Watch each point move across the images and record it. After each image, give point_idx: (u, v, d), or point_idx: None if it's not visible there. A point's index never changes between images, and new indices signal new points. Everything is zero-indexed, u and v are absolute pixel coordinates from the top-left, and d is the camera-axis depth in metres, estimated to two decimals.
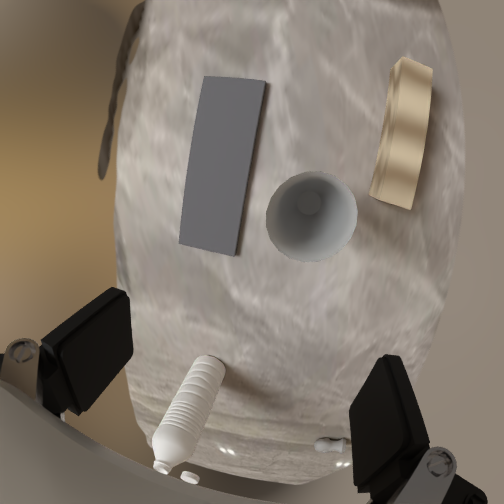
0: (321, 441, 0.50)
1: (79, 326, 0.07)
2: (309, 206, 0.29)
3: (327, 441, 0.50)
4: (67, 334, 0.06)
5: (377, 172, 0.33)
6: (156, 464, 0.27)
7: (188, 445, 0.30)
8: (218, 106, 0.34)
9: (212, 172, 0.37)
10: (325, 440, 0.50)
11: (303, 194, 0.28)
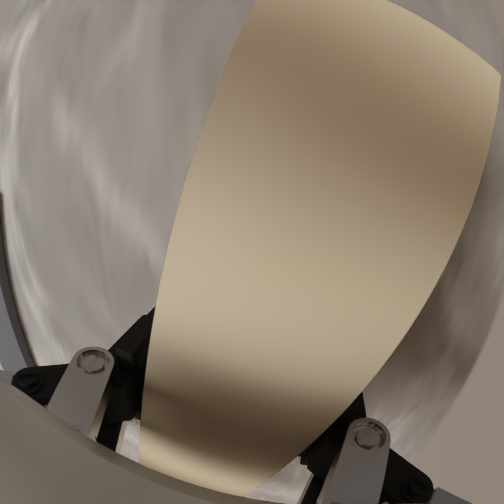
0: None
1: None
2: None
3: None
4: (143, 339, 0.07)
5: None
6: None
7: None
8: None
9: None
10: None
11: None
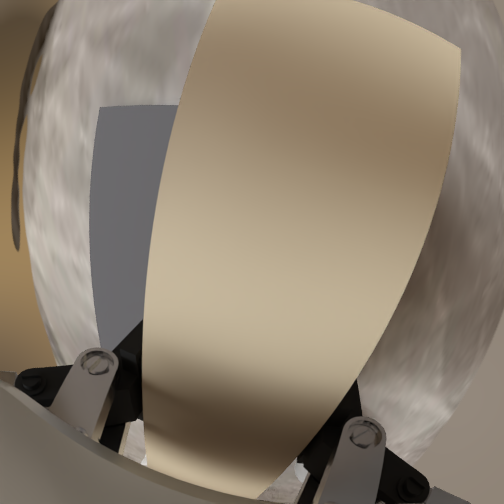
0: None
1: None
2: None
3: None
4: None
5: None
6: None
7: None
8: (117, 159, 0.20)
9: (120, 267, 0.23)
10: None
11: None
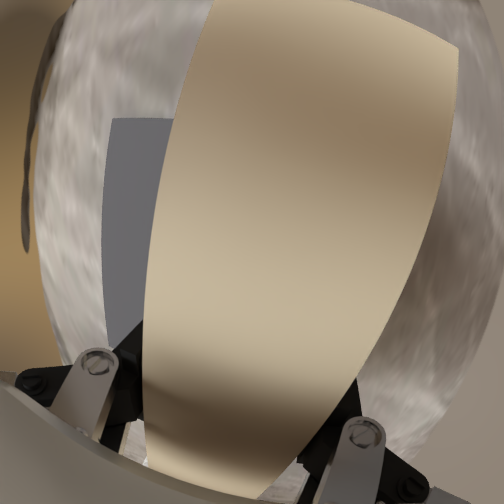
0: None
1: None
2: None
3: None
4: None
5: None
6: None
7: None
8: (130, 168, 0.22)
9: (131, 269, 0.25)
10: None
11: None
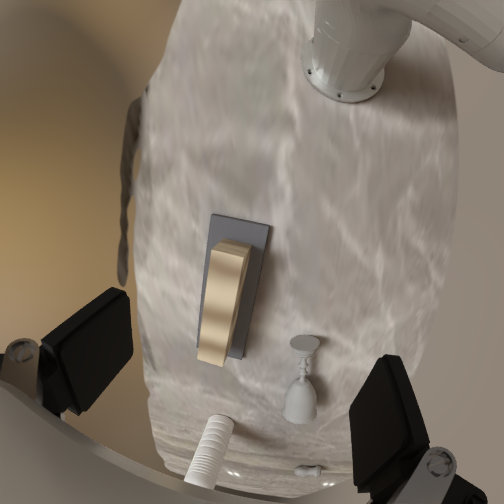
0: (298, 468, 0.59)
1: (79, 326, 0.07)
2: None
3: (303, 468, 0.59)
4: (67, 334, 0.06)
5: None
6: None
7: (211, 485, 0.39)
8: None
9: None
10: (302, 468, 0.59)
11: (300, 386, 0.45)
